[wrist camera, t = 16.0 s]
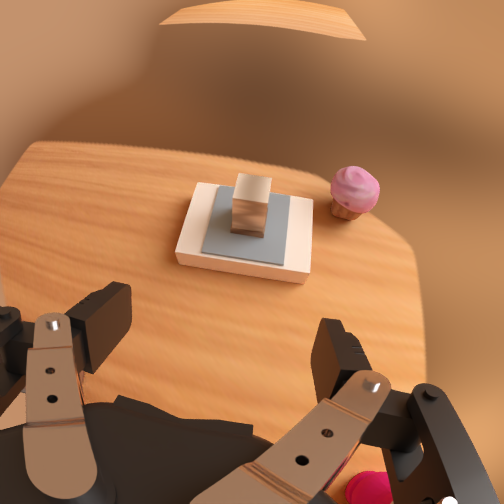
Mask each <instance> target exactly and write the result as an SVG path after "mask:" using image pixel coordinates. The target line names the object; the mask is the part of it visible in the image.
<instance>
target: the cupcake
mask: <svg viewBox="0 0 504 504" xmlns="http://www.w3.org/2000/svg"><path fill="white" fill-rule="evenodd" d="M379 192H380V189H379V184H378V182H377V180H376V179H375V178H374V177H373V176H372V175H370V174H369V173H368V172H367V171H365V170H364V169H362V168H360V167H357V166H349V167H345V168H342V169H340V170H339V171H338V172H337V173H336V174H335V176H334V177H333V179H332V182H331V195H332V196H333V202H332V206H331V213H332V214H333V215H334V216H336V217H339V218H344V219H347V220H355V219H356V218H358V217H359V216H360V215H361V214H362V213H366V212H368V211H369V210H371V209H372V208H373V207H374V206H375V204H376V202H377V200H378V197H379Z"/></svg>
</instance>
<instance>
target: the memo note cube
mask: <svg viewBox="0 0 504 504" xmlns="http://www.w3.org/2000/svg"><path fill="white" fill-rule="evenodd" d="M271 180H272V178H269V177H262V176H256V175H249V174H242V173H239V174H238V178H237V182H236V186H235V190H234V194H233V198H232V224H231V228H230V233H234V234H241V235H247V236H253V237H259V238H264V232H265V226H266V219H267V213H268V207H267V206H268V200H269V193H270V187H271Z"/></svg>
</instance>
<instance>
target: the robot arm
mask: <svg viewBox="0 0 504 504" xmlns="http://www.w3.org/2000/svg"><path fill="white" fill-rule="evenodd" d="M131 322H132V304H131V287H130V285H128V284H124V283H119V282H115V281H113V282H111V283H110V284H109V285H107V286H106V287H105V288H104V289H102V290H98V291H95V292H93V293H91V294H89V295H88V296H87V297H85V299H83V300H81V301H80V302H79V303H77V304H76V305H75V306H74V307H72V308H71V309H70V310H68V311H67V312H66V313H65V314H61V313H47V314H44V315H42V316H40V317H39V318H38V319H37V320H36V322H35V323H33V322H25V321H23V320H22V319H21V314H20V311H19V310H18V309H17V308H15V307H1V306H0V416H1V415H2V414H3V413H4V411H5V410H6V409H7V408H8V407H9V405H10V404H11V403H12V402H13V400H14V399H15V398H16V397H17V396H18V394H19V393H20V392H22V393H26V423H25V424H21V425H18V426H14V427H10V428H7V429H3V430H0V504H337V503H336V502H335V501H334V500H333V499H332V498H331V497H330V496H329V495H328V494H327V493H326V490H327V489H328V488H329V486H330V485H331V484H332V483H333V481H334V480H335V479H336V477H337V476H338V475H339V473H340V472H341V471H342V469H343V468H344V467H345V465H346V464H347V463H348V461H349V460H350V458H351V457H352V456H353V454H354V453H355V451H356V450H357V449H358V447H359V446H360V444H361V443H362V444H366V445H371V446H375V447H380V448H381V449H382V453H383V457H384V462H385V466H386V470H387V474H388V479H389V484H390V488H391V493H392V498H393V503H394V504H500V502H499V500H498V498H497V495H496V493H495V490H494V488H493V486H492V483H491V481H490V479H489V477H488V474H487V472H486V470H485V468H484V466H483V464H482V462H481V460H480V457H479V455H478V453H477V451H476V449H475V447H474V445H473V443H472V441H471V439H470V437H469V436H468V434H467V432H466V430H465V428H464V426H463V424H462V423H461V420H460V419H459V417H458V415H457V413H456V411H455V410H454V408H453V406H452V404H451V403H450V401H449V399H448V397H447V395H446V394H445V393H444V392H443V391H442V390H441V389H440V388H438V387H436V386H434V385H431V384H426V383H422V384H418V385H416V386H415V387H414V389H413V391H412V393H411V394H409V393H404V392H400V391H395V390H392V389H391V384H390V382H389V380H388V379H387V378H386V377H385V376H383V375H382V374H380V373H377V372H374V371H373V370H372V368H371V366H370V364H369V361H368V359H367V357H366V355H365V354H364V351H363V348H362V346H361V344H360V342H359V340H358V339H357V338H356V337H355V336H354V335H353V334H352V333H349V332H345V329H344V327H343V325H342V323H341V321H340V320H336V319H328V318H322V319H321V321H320V324H319V328H318V331H317V335H316V338H315V342H314V345H313V349H312V353H311V368H312V374H313V379H314V385H315V391H316V396H317V402H318V405H317V406H315V407H314V408H313V409H312V410H311V411H310V412H309V413H308V414H307V415H306V416H305V417H304V418H303V419H302V420H301V421H300V422H299V423H298V424H297V425H295V426H294V427H293V428H292V429H291V430H290V431H289V432H288V433H287V434H285V435H284V436H283V437H282V438H281V439H280V440H279V441H277V442H276V443H275V444H273V443H271V442H269V441H267V440H265V439H263V438H261V437H258V436H255V435H253V425H250V424H243V423H236V422H230V421H224V420H204V419H181V418H178V417H175V416H173V415H171V414H169V413H167V412H165V411H162V410H160V409H158V408H156V407H154V406H152V405H150V404H148V403H144V402H141V401H137V400H134V399H131V398H127V397H124V396H121V395H118V396H117V398H116V399H115V401H114V403H107V402H99V403H89V404H86V402H85V398H84V393H83V388H82V383H83V378H84V371H85V372H88V373H91V374H94V373H95V372H96V370H97V369H98V368H99V366H100V365H101V364H102V363H103V362H104V360H105V359H106V358H107V357H108V355H109V354H110V353H111V352H112V350H113V349H114V348H115V347H116V345H117V344H118V343H119V342H120V341H121V339H122V338H123V337H124V336H125V335H126V333H127V332H128V331H129V329H130V326H131ZM421 442H422V445H423V448H424V453H423V451H422V448H421V445H420V444H421Z"/></svg>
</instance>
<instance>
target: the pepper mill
mask: <svg viewBox="0 0 504 504" xmlns="http://www.w3.org/2000/svg"><path fill="white" fill-rule="evenodd" d="M345 496H346V499H347V501H348V502H349V503H350V504H394V503H393V498H392V493H391V488H390V484H389V479H388V474H387V472H375V471H365V472H362V473H359V474H358V475H356V476H355V477H353V478H352V479H351V481H350V482H349V483H348V485H347V487H346V491H345Z"/></svg>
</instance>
